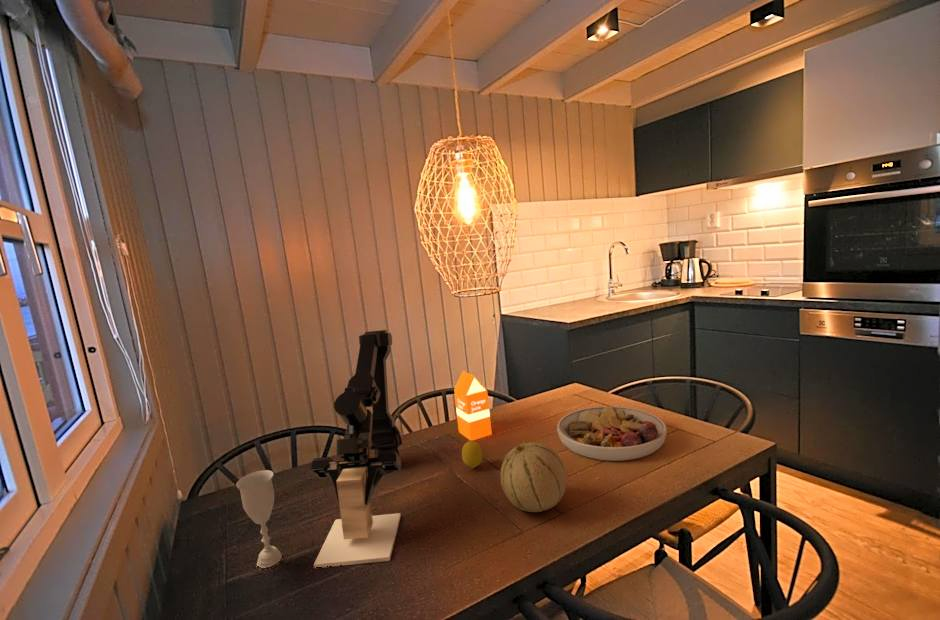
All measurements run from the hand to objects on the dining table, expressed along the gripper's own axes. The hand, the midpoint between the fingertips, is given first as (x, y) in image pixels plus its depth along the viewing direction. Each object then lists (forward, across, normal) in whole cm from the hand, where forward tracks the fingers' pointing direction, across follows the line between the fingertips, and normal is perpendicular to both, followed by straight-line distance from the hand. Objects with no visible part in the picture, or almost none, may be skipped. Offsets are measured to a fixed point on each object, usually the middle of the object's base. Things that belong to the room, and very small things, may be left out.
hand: (353, 505), depth 95 cm
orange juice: (-30, +25, +43) cm, 58 cm away
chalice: (+8, -18, +4) cm, 20 cm away
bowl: (-19, +65, +33) cm, 75 cm away
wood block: (+4, 0, +6) cm, 7 cm away
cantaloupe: (+1, +38, +12) cm, 40 cm away
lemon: (-14, +25, +26) cm, 39 cm away
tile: (+5, 0, +7) cm, 9 cm away
